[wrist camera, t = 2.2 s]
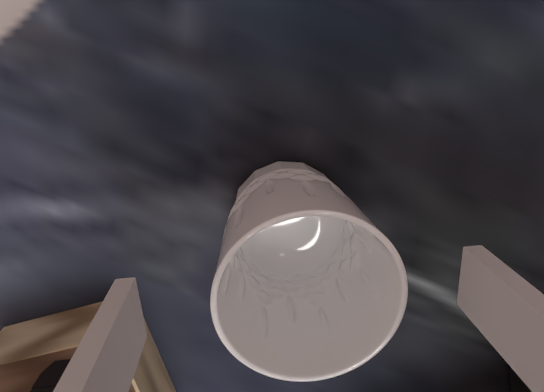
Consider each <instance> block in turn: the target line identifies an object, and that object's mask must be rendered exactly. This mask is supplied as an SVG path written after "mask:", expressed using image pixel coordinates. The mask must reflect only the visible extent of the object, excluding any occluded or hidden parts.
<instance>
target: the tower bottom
mask: <svg viewBox="0 0 544 392" xmlns="http://www.w3.org/2000/svg"><path fill="white" fill-rule="evenodd" d="M102 302H103V301H102ZM102 302H98V303H94V304H91V305H87V306H83V307H79V308H75V309H71V310H67V311H64V312H60V313H56V314H52V315H48V316H44V317H40V318H37V319H33V320H29V321H25V322H21V323H17V324H13V325H10V326H6V327H3V329H2V330H1V331H0V365H3V364H7V363H11V362H16V361H20V360H24V359H28V358H32V357H37V356H41V355H45V354H49V353H53V352H58V351H62V350H66V349H70V348H74V347H78V346H79V344H80V342H81V340H82V338H83V337H84V335H85V333H86V331H87V329H88V327H89V326H90V324H91V322H92V320H93V318H94V317H95V315H96V313H97V311H98V309H99V308H100V306H101V304H102ZM144 322H145V319H144ZM145 327H146V331H147V338H146V341H145V344H144V347H143V350H142V353H141V356H140V359H139V362H138V365H137V368H136V371H135V374H134V377H133V380H132V385H133V387H134V389H135V391H136V392H176V390H175V388H174V386H173V383H172V381H171V379H170V377H169V374H168V372H167V370H166V367H165V365H164V363H163V361H162V358H161V356H160V354H159V351H158V349H157V347H156V344H155V342H154V340H153V338H152V335H151V333H150V331H149V328H148V326H147V324H146V322H145Z"/></svg>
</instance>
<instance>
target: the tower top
mask: <svg viewBox="0 0 544 392" xmlns="http://www.w3.org/2000/svg"><path fill="white" fill-rule="evenodd" d="M76 349H77V347H74V348H70V349H66V350H62V351H58V352H53V353H49V354H45V355H41V356H37V357H32V358H28V359H24V360H20V361H16V362H11V363H7V364H3V365H0V392H29V391H31V388H32V386H33V385H34V383H35V381H36V380H37V378H38V377H39V375H40V374H41V373H42V372H43V371H44V370H45V369H46V368H47V367H48V366H49V365H50V364H52V363H53V362H54V361H55V360H65V359H71V358H72V356H73V355H74V353H75V351H76ZM129 392H136V391H135V389H134V387H133V385H132V383H131V386H130V389H129Z"/></svg>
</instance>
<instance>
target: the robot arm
mask: <svg viewBox="0 0 544 392" xmlns="http://www.w3.org/2000/svg"><path fill="white" fill-rule="evenodd" d="M457 305H458V306H459V308H460V309H461V310H462V311H463V312H464V313H465V315H466V316H467V317H468V318H469V319H470V320H471V322H472V323H473V324H474V325H475V326H476V327H477V328H478V330H479V331H480V332H481V333H482V334H483V335H484V337H485V338H486V339H487V340H488V341H489V342H490V344H491V345H492V346H493V347H494V348H495V349H496V351H497V352H498V353H499V354H500V355H501V356H502V358H503V359H504V360H505V361H506V362H507V363H508V364H509V366H510V386H511V391H512V392H544V294H542V293H541V292H540V291H539V290H537V289H536V288H535V287H534V286H532V285H531V284H530V283H529V282H527V281H526V280H525V279H524V278H522V277H521V276H520V275H519V274H517V273H516V272H515V271H514V270H512V269H511V268H510V267H508V266H507V265H506V264H505V263H503V262H502V261H501V260H500V259H498V258H497V257H496V256H495V255H493V254H492V253H491V252H490V251H488V250H487V249H486V248H485V247H483V246H482V245H477V246H467V247H463V253H462V262H461V271H460V279H459V288H458V296H457ZM146 338H147V331H146V327H145V322H144V317H143V312H142V307H141V303H140V298H139V293H138V288H137V283H136V279H135V277H133V278H122V279H115V280H114V282H113V284H112V286H111V288H110V290H109V291H108V293H107V295H106V297H105V299H104V300H103V302H102V304H101V306H100V308H99V309H98V311H97V313H96V315H95V317H94V318H93V320H92V322H91V324H90V326H89V327H88V329H87V331H86V333H85V335H84V337H83V338H82V340H81V342H80V344H79V346H78V347H77V349H76V351H75V353H74V355H73V356H72V358H71V359H65V360H55V361H54V362H53V363H52V364H50V365H49V366H48V367H47V368H46V369H45V370H44V371H43V372H42V373H41V374H40V375H39V377H38V378H37V380H36V381H35V383H34V385H33V386H32V388H31V391H29V392H129V389H130V386H131V383H132V380H133V377H134V374H135V371H136V368H137V365H138V362H139V359H140V356H141V353H142V350H143V347H144V344H145V341H146Z"/></svg>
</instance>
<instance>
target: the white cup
mask: <svg viewBox="0 0 544 392" xmlns="http://www.w3.org/2000/svg"><path fill="white" fill-rule="evenodd" d="M407 298H408V281H407V275H406V270H405V267H404V264H403V262H402V259H401V257H400V255H399V253H398V252H397V250H396V248H395V247H394V246H393V244H392V243H391V242H390V241H389V239H388V238H387V237H386V236H385V235H384V234H383V233H382V232H381V231H380V230H379V229H378V228H377V227H376V226H375V225H374V224H373V222H372V221H371V220H370V219H369V218H368V217H367V216H366V215H365V214H364V213H363V212H362V211H361V209H360V208H359V207H358V206H357V205H356V204H355V203H354V202H353V201H352V200H351V199H350V198H349V197H348V196H347V195H346V194H345V193H343V191H342V190H341V189H340V188H339V187H337V186H336V185H335V184H334V183H332V182H331V181H330V180H329V179H328V178H327V177H326V176H325V175H324V174H323V173H321V172H319V171H317V170H316V169H314V168H312V167H310V166H308V165H307V164H305V163H303V162H284V161H277V162H275V163H272V164H270V165H267V166H265V167H263V168H260V169H258V170H255V171H254V172H253V173H252V174H251V175H250V176H249V178H248V179H247V180H246V181H245V182H244V183H243V184H242V185H241V186H240V187H239V188H238V191H237V195H236V198H235V202H234V205H233V207H232V209H231V211H230V214H229V217H228V221H227V224H226V227H225V231H224V236H223V240H222V245H221V249H220V253H219V258H218V262H217V267H216V271H215V275H214V279H213V284H212V288H211V296H210V307H211V315H212V320H213V323H214V326H215V329H216V331H217V334H218V336H219V338H220V339H221V341H222V342H223V344H224V345H225V347H226V348H227V349H228V350H229V352H230V353H231V354H232V355H233V356H234V357H235V358H237V359H238V360H239V361H240V362H242V363H243V364H244V365H246V366H247V367H249V368H251V369H253V370H254V371H256V372H259V373H261V374H263V375H266V376H269V377H272V378H276V379H280V380H286V381H297V382H307V381H318V380H324V379H328V378H332V377H336V376H339V375H342V374H344V373H347V372H349V371H351V370H353V369H355V368H357V367H359V366H361V365H362V364H364V363H366V362H367V361H368V360H370V359H371V358H372V357H374V356H375V355H376V354H377V353H378V352H379V351H380V350H381V349H382V348H383V347H384V346H385V345H386V344H387V343H388V342H389V340H390V339H391V338H392V336H393V335H394V333H395V332H396V330H397V328H398V327H399V325H400V323H401V320H402V318H403V315H404V312H405V309H406V304H407Z"/></svg>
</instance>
